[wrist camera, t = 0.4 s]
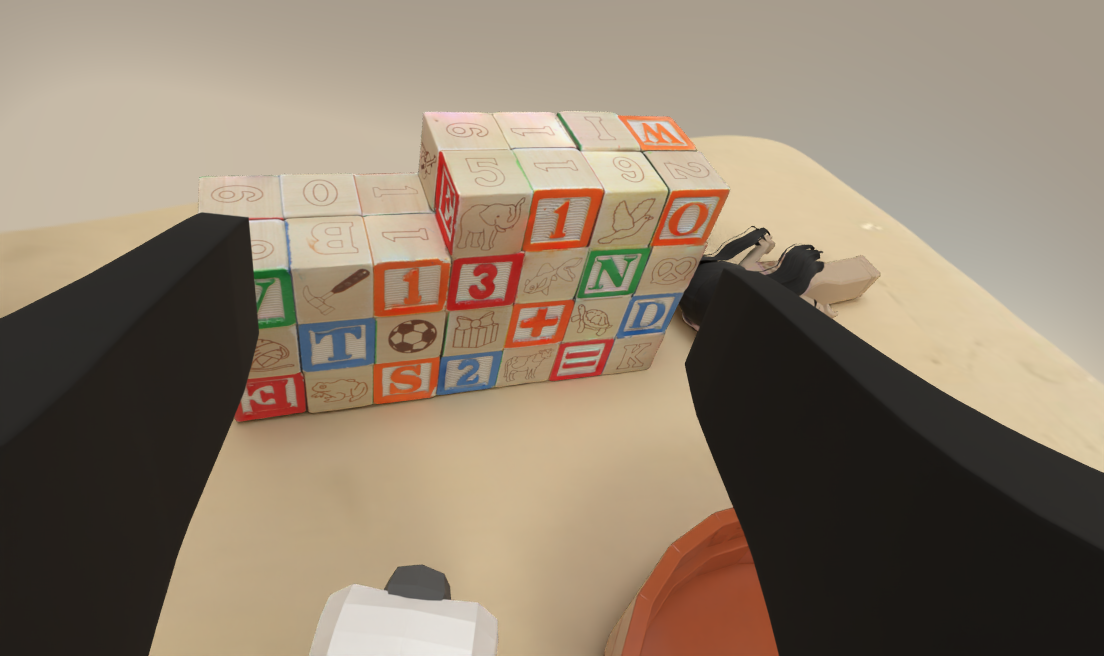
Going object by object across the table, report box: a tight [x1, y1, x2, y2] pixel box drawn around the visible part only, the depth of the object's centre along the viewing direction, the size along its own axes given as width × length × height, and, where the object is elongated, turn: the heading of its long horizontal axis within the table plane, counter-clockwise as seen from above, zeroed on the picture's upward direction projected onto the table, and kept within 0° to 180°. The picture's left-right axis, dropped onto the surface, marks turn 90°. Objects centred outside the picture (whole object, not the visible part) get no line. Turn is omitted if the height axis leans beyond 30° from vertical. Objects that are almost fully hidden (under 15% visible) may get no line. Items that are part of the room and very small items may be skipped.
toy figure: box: [679, 226, 881, 331], centre depth 41 cm, size 7×6×15 cm
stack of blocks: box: [198, 111, 730, 422], centre depth 31 cm, size 21×6×12 cm, turn 109°
